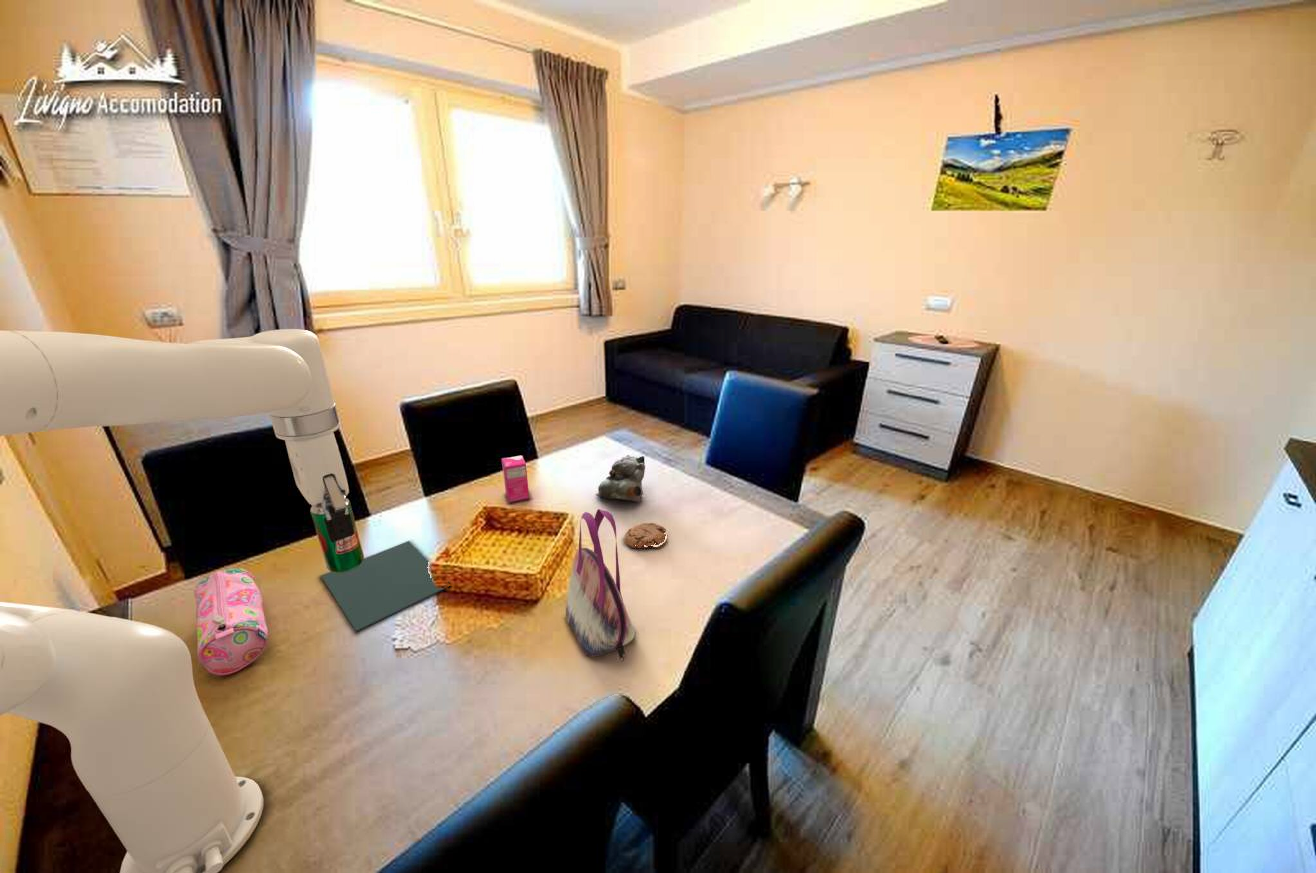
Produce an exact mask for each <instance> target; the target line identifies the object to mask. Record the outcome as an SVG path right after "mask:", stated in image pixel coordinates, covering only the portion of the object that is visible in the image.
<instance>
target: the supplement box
mask: <svg viewBox="0 0 1316 873" xmlns="http://www.w3.org/2000/svg"><path fill="white" fill-rule="evenodd" d="M501 464H502V465H501V466H502V473H503V481H504V489H505V495H506V497H507V501H508V503H509V504H513V503H520V502H525V501H530V499H531V498H530V491H529V490H530V489H529V481H528V480H529V479H528V471H527V462H526V460H525V459H524V456H523V455H517V456H516V455H515V456H511V457H503V458H501Z"/></svg>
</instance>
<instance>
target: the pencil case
mask: <svg viewBox="0 0 1316 873" xmlns="http://www.w3.org/2000/svg"><path fill="white" fill-rule="evenodd" d="M193 595H194V598H195V606H196V609H195V618H196V621H197V622H196V644H197V647H196V648H197V650H196V654H197V655H196V656H197V659H198V662H200V665H201V666H202V667H203V668H204V669H205V670H206V671H208V672H209V673H211V674H213V675H216V676H228V675H231V674H234V673H237V672H239V671H240V670H242V669H244V668H246V667H247V666H250V664H252V663H253V662H255V661H256V660H257V659H258V658H259V657H261V655H262V654H263V653H264V651H265V650H266V648H267V646H268V643H269V629H268V626H267V620H266V616H265V612H264V604H263V597H262V593H261V591H260V590H259V587H258V585H257V584H256V579H255V576H254V575H253V574H252V573H251V572H250V571H249V570H247V569H245V568H241V567H235V568H234V567H233V568H228V569H224V570H220V571H215V572H214V573H213V574H210V575H209V576H207V577H205V578H204V579H202V580H201V581H200V582H199V583H197V584H196V586H195V588H194V592H193Z"/></svg>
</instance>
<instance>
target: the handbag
mask: <svg viewBox="0 0 1316 873" xmlns="http://www.w3.org/2000/svg"><path fill="white" fill-rule="evenodd" d="M604 518H606V520H607V521H608V522H609V523H610V525H611V527H612V529H613V533H614V536H615V537H614V538H615V539H617V525H616V521H615V518H614V516H613V515H612V514H611V512H609V511H608V510H605V509H604V510H603V509H600V508H597V510H596V513H595V515H594V516H593V515H592V514H591V513H590V512H587V511H585V512H583V513H582V515H581V518H580V522H579V534H578V535H579V537H578V549H577V550H576V552H575V554H574V556H573V561H572V566H571V571H570V578H569V582H568V583H569V584H568V591H567V598H566V603H565V604H566V606H565V616H566V621H567V623H568V625H569V627H570V629H571V630H572V633H573V634H574V636H575V638H576V640H577V642H578V643H579V646H580V647H581V649H582V651H583V653H584V654H585V655H586V656H587V657H598V656H603V655H606V654H608V653H611V652H614V651H617V652H618V656H619V660H620V662H621V663H623V662H625V659H626V658H627V654H626V652H625V648H624V646H625V645H627V644H629V643H631V642H632V641H633V640H634V639H635V637H636V633H635V628H634V626H633V623H632V621H631V618H630V617H629V614H628V611H627V609H626V605H625V603H624V600H623V596H622V591H621V576H620V575H621V574H620V566H619V554H618V553H619V552H618V544H617V542H615V579H614V578H613V576H612V574H611V571H610V570H609V568H608V567H607V566H606V564H605V562H604V555H603V551H602V546H601V541H600V536H599V529H600V526H601V524H602V522H603V520H604ZM582 519H583V520H584V521H585V523H586V525H587V528H588V532H589V537H590V539H591V542H592V545H593V550H592V549H590V548H589V547H582V546H583V545H582Z"/></svg>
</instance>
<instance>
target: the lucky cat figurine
mask: <svg viewBox="0 0 1316 873" xmlns="http://www.w3.org/2000/svg"><path fill="white" fill-rule="evenodd" d="M645 472H646V463H645V456H644V455H642V456H638V457H636V456H634V455H630V454H629V455H628V454H627V455H626V456H623V457H621V458H620V459H617V460H615V462H614V463H613V464H612V466H611V469H610V470H609V471H608V475H609V476H607V477H606V478H605V479H603V481H602V482H601V483H600V484H599V485H598V487H597V489H598V492H597V493H595V494H594V495H595V496H596V497H599V498H600V497H603V498H607V499H618V500H625V501H632V502H639V503H641V502H642V499H643V497H642V495H643V496H644V490H643V484H642V483H643V479H644V478H645Z"/></svg>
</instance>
